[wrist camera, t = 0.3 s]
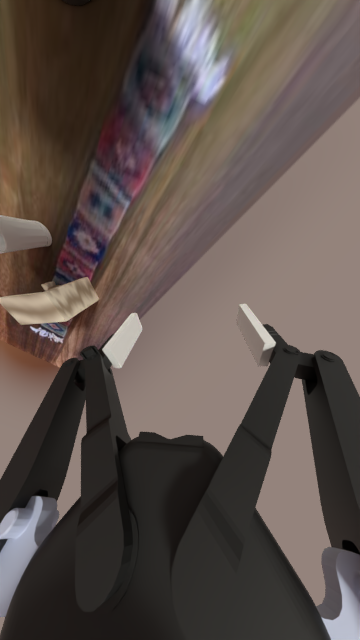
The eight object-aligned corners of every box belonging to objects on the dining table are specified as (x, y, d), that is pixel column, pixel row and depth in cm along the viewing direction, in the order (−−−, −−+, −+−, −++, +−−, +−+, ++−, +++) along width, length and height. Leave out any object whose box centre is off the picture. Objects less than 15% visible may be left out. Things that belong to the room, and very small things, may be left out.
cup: (55, 254, 41) (10, 259, 31) (28, 241, 39) (-28, 242, 29) (53, 226, 36) (0, 222, 26) (22, 210, 35) (-46, 200, 25)
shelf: (49, 282, 46) (-5, 298, 34) (87, 277, 44) (45, 292, 31) (63, 303, 51) (21, 324, 38) (99, 299, 48) (66, 321, 36)
